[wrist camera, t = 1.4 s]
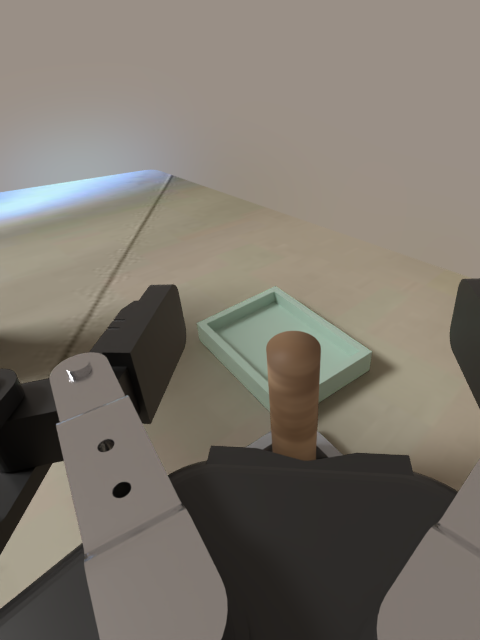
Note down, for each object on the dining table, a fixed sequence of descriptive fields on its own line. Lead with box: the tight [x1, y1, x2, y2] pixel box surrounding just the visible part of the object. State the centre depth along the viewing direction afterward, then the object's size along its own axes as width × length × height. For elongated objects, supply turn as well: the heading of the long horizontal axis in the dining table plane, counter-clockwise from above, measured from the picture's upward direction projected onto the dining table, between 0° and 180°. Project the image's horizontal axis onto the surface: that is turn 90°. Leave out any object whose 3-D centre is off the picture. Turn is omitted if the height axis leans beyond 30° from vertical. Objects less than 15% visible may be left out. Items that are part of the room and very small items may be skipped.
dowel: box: [266, 331, 321, 461], centre depth 29 cm, size 3×3×14 cm
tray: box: [197, 286, 372, 412], centre depth 44 cm, size 15×11×2 cm
